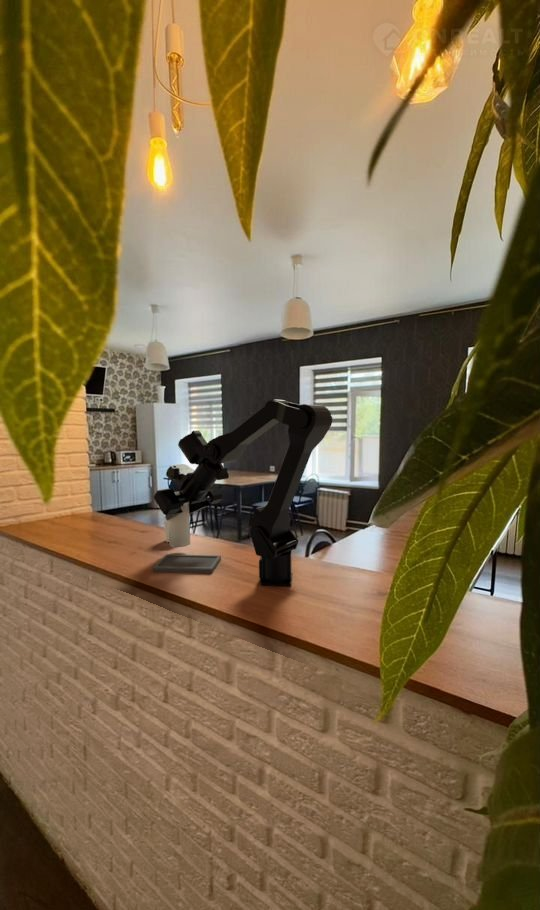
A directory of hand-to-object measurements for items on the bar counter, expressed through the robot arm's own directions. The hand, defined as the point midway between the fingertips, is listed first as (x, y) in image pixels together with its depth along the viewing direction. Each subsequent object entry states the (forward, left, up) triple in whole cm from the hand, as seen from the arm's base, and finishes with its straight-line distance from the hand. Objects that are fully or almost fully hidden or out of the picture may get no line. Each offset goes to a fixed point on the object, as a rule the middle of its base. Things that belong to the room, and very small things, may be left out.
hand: (175, 516), depth 106 cm
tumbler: (-1, +1, -7) cm, 7 cm away
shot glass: (+4, -11, -10) cm, 15 cm away
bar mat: (-6, +10, -10) cm, 15 cm away
